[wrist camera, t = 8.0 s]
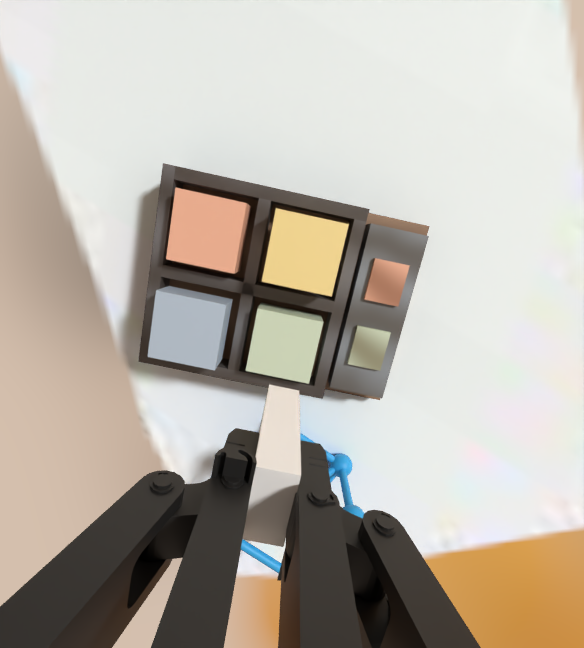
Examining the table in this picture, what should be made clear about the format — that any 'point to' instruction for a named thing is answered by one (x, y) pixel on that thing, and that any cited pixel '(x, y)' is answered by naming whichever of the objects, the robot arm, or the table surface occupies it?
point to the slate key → (189, 327)
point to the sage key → (284, 343)
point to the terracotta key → (207, 231)
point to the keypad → (337, 310)
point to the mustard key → (304, 252)
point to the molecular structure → (339, 468)
